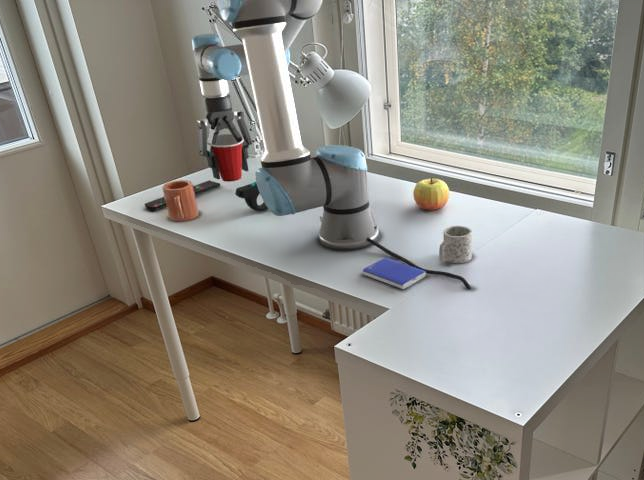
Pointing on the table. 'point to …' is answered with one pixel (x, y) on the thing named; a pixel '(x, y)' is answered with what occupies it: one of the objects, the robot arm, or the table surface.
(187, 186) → the mug
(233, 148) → the plastic cup
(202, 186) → the remote control
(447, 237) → the mug
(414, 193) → the apple
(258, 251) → the table surface
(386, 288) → the table surface
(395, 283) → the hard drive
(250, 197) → the controller
